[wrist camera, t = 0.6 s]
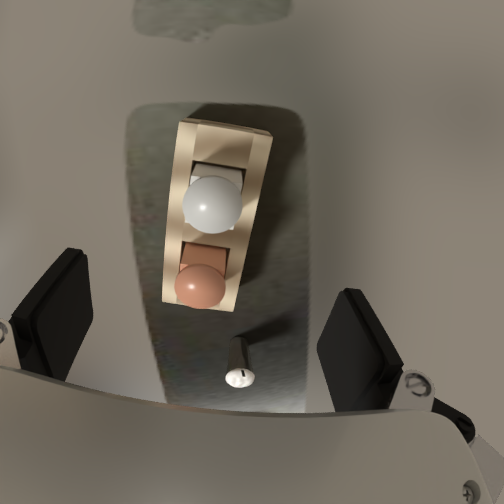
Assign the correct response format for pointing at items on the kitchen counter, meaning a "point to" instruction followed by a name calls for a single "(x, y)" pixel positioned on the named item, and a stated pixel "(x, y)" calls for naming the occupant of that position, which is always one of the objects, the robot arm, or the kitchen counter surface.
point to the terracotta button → (201, 276)
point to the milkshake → (239, 363)
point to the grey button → (213, 198)
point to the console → (253, 169)
